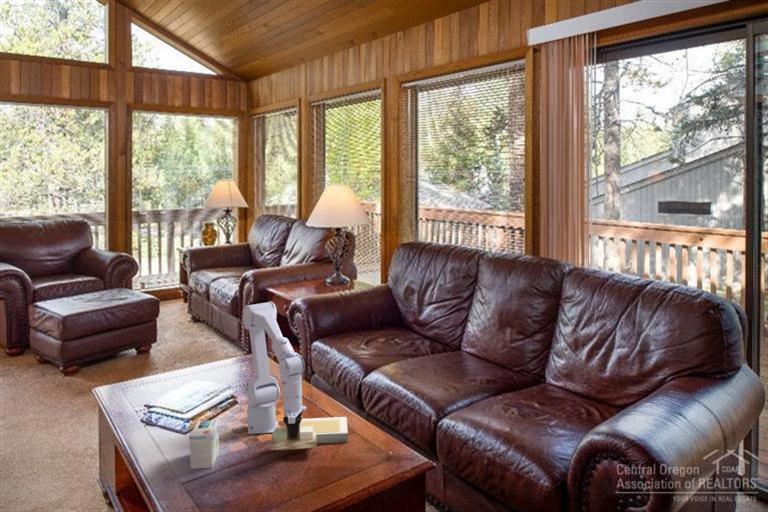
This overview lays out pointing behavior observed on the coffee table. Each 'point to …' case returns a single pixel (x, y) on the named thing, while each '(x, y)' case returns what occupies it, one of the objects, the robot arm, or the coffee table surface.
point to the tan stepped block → (293, 442)
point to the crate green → (280, 434)
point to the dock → (328, 429)
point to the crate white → (306, 433)
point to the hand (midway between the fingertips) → (293, 435)
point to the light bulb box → (204, 444)
